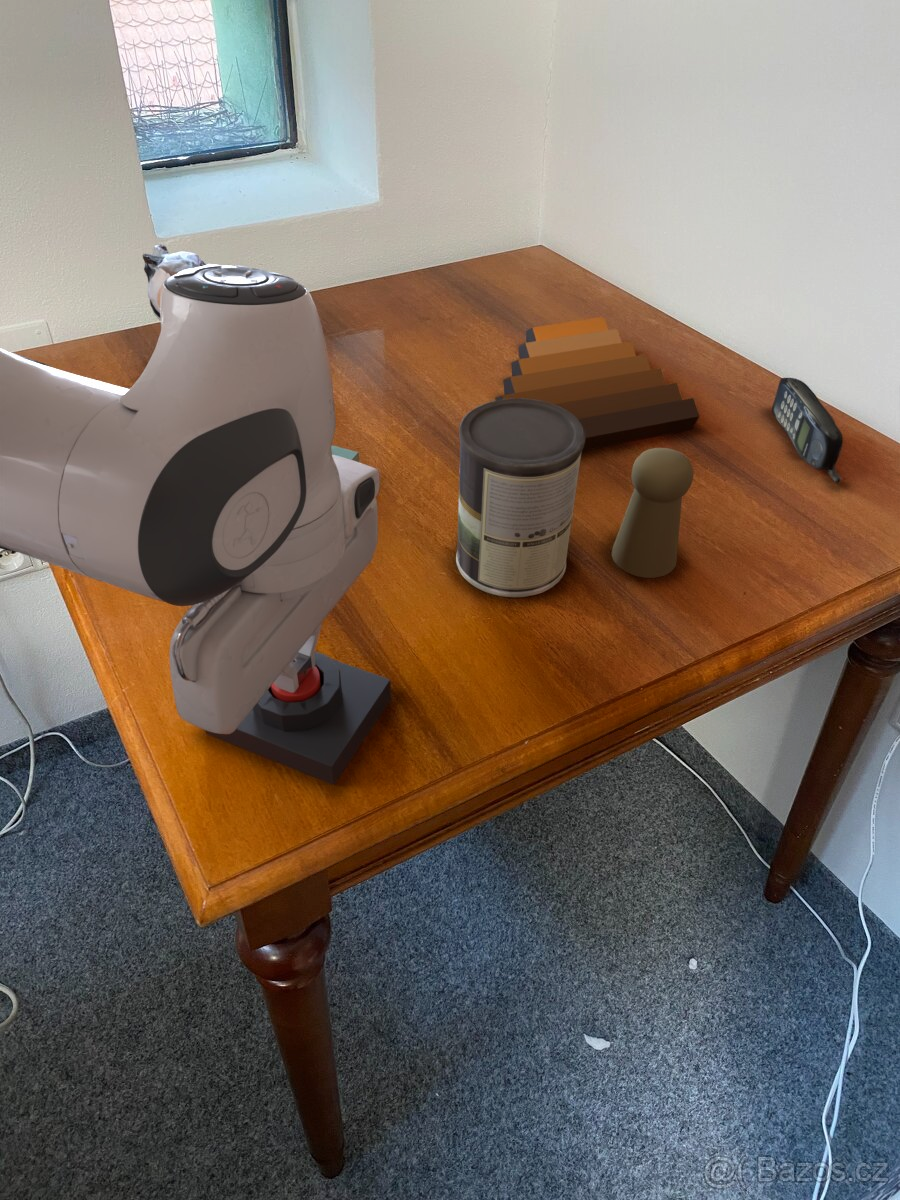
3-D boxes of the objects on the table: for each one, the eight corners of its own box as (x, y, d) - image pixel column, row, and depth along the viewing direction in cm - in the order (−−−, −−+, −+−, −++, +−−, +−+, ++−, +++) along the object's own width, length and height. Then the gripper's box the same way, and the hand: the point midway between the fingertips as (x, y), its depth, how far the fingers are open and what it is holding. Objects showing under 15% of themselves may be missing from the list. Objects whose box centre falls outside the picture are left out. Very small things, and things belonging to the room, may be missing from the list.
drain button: (263, 702, 64) (260, 686, 63) (289, 669, 67) (286, 653, 66) (305, 718, 63) (303, 702, 62) (330, 684, 66) (328, 668, 65)
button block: (205, 734, 65) (196, 698, 63) (271, 655, 72) (265, 620, 69) (334, 785, 62) (330, 750, 60) (391, 698, 68) (390, 663, 66)
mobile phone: (776, 373, 98) (833, 443, 87) (802, 372, 99) (862, 442, 87) (765, 413, 102) (818, 485, 90) (790, 412, 102) (846, 484, 91)
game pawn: (683, 547, 83) (709, 448, 75) (667, 585, 79) (692, 485, 71) (622, 529, 85) (641, 431, 77) (603, 566, 81) (621, 466, 73)
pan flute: (488, 473, 91) (695, 432, 98) (489, 445, 89) (702, 405, 96) (413, 363, 108) (594, 335, 115) (413, 338, 106) (597, 310, 113)
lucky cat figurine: (289, 346, 111) (243, 269, 98) (208, 394, 111) (151, 324, 98) (245, 272, 117) (196, 191, 104) (168, 318, 117) (109, 242, 104)
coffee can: (432, 565, 80) (433, 432, 71) (500, 513, 86) (509, 384, 77) (523, 615, 76) (537, 480, 66) (588, 557, 81) (609, 426, 72)
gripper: (217, 652, 47) (252, 802, 56) (391, 458, 60) (396, 604, 70) (122, 617, 48) (171, 768, 58) (312, 437, 62) (327, 582, 72)
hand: (295, 677), depth 64 cm, fingers closed, pressing on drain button
